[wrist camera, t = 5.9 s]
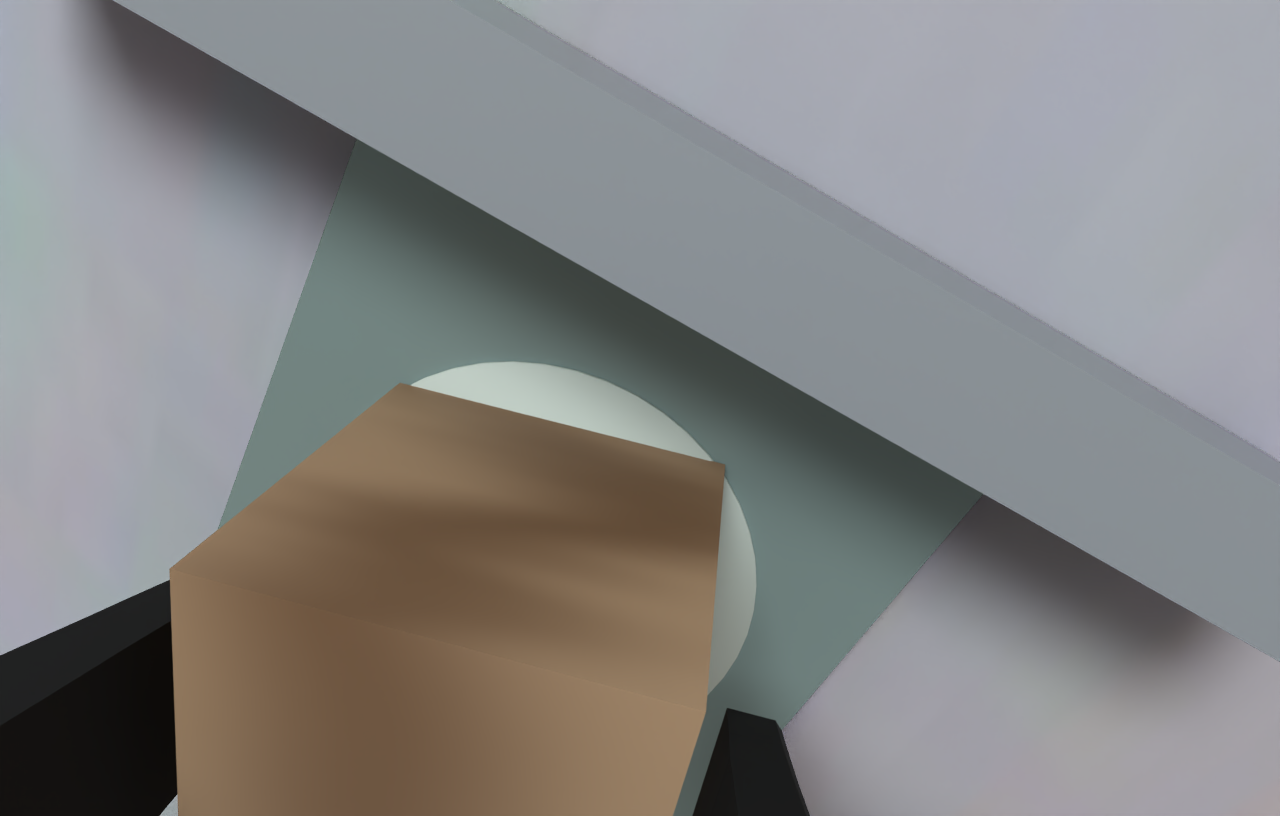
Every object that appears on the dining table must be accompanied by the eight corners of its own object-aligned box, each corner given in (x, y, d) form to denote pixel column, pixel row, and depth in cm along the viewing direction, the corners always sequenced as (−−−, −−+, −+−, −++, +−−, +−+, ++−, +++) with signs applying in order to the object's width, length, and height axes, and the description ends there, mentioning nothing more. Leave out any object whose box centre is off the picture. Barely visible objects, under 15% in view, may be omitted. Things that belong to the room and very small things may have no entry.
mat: (981, 474, 11) (991, 489, 11) (656, 860, 15) (653, 884, 15) (373, 128, 11) (357, 129, 10) (194, 622, 15) (177, 639, 14)
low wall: (1268, 455, 11) (1488, 608, 8) (1188, 534, 11) (1359, 707, 8) (72, -249, 10) (-273, -422, 6) (51, -120, 10) (-275, -220, 7)
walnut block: (725, 464, 11) (706, 712, 7) (652, 717, 13) (600, 1042, 9) (400, 382, 12) (169, 568, 7) (375, 643, 14) (181, 922, 9)
